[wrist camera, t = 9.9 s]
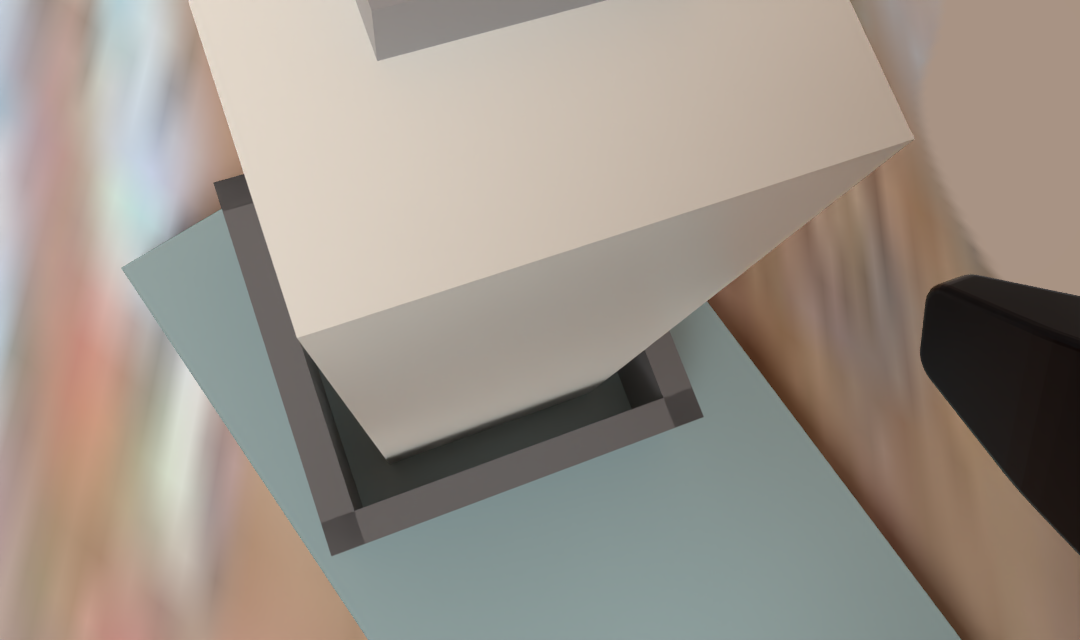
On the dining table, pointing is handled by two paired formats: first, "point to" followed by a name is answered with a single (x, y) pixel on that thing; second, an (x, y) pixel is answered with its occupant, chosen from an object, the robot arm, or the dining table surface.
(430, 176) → the block
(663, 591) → the socket plate
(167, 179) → the dining table surface
